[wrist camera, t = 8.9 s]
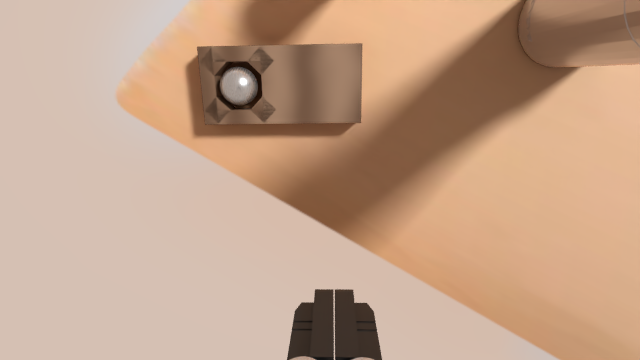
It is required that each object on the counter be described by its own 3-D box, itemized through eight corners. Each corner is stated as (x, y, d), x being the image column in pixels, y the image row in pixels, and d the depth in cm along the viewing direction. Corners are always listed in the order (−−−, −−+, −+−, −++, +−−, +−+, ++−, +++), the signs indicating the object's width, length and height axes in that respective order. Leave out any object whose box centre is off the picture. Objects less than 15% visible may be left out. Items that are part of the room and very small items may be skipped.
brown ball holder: (360, 45, 38) (362, 43, 36) (359, 120, 41) (360, 122, 38) (205, 48, 39) (197, 46, 37) (212, 121, 41) (205, 124, 39)
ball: (250, 65, 35) (211, 66, 36) (253, 106, 36) (215, 106, 37) (261, 66, 39) (226, 67, 40) (263, 103, 40) (229, 104, 41)
